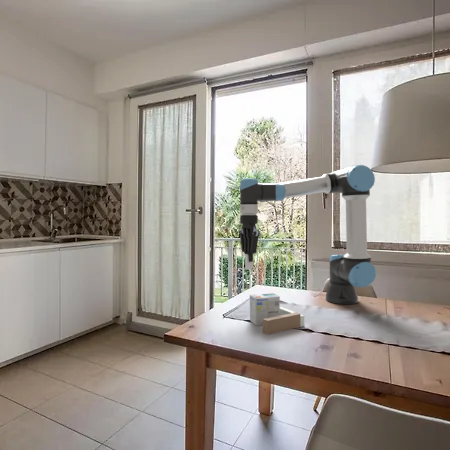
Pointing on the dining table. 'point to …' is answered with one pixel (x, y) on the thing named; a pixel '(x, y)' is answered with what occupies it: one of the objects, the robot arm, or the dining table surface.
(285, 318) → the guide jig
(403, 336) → the dining table surface
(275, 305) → the light bulb box
